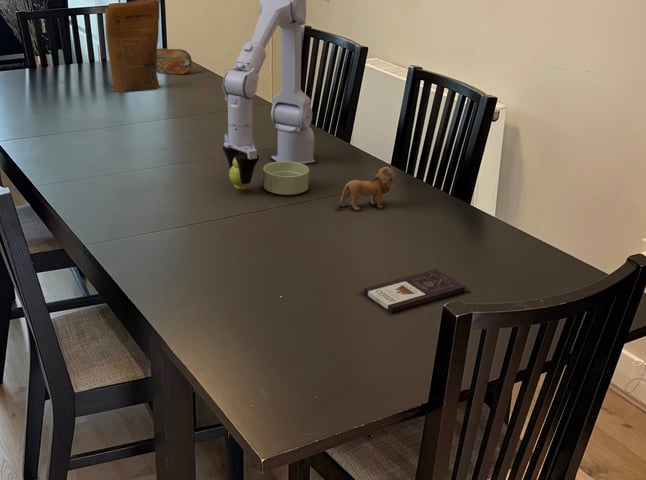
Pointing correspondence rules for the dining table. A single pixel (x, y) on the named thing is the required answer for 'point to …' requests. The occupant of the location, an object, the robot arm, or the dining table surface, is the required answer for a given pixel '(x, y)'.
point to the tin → (173, 61)
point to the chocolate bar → (413, 290)
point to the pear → (236, 175)
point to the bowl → (286, 177)
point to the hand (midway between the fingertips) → (240, 179)
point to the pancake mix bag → (133, 44)
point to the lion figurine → (369, 188)
